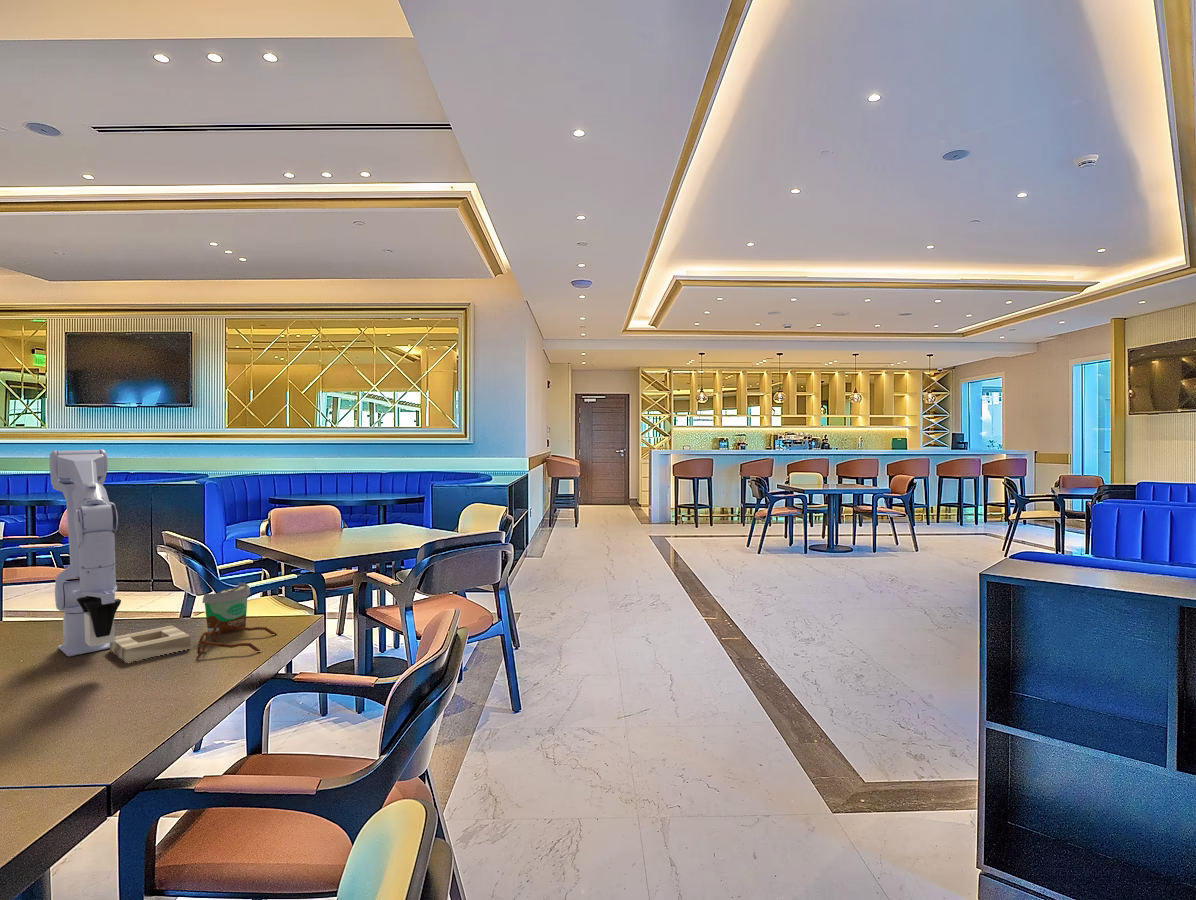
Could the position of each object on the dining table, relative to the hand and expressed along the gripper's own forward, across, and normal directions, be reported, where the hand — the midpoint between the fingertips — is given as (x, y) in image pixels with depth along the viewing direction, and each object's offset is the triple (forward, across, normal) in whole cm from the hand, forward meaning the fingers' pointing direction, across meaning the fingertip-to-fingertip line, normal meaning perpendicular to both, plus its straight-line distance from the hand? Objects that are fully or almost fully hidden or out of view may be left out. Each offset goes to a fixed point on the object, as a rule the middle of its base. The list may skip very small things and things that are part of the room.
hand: (99, 633), depth 134 cm
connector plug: (+2, 0, 0) cm, 2 cm away
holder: (+8, -9, +11) cm, 16 cm away
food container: (+8, -11, +29) cm, 32 cm away
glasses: (+9, +2, +25) cm, 27 cm away
